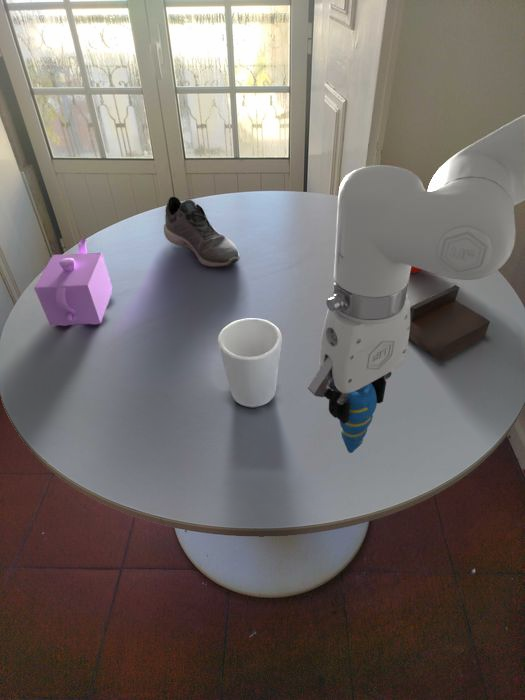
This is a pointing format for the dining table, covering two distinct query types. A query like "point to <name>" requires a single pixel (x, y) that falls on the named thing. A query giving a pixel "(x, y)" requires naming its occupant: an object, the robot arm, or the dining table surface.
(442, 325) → the shelf
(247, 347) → the cup
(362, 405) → the ornament
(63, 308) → the teapot
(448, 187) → the robot arm
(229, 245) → the athletic shoe
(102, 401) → the dining table surface
